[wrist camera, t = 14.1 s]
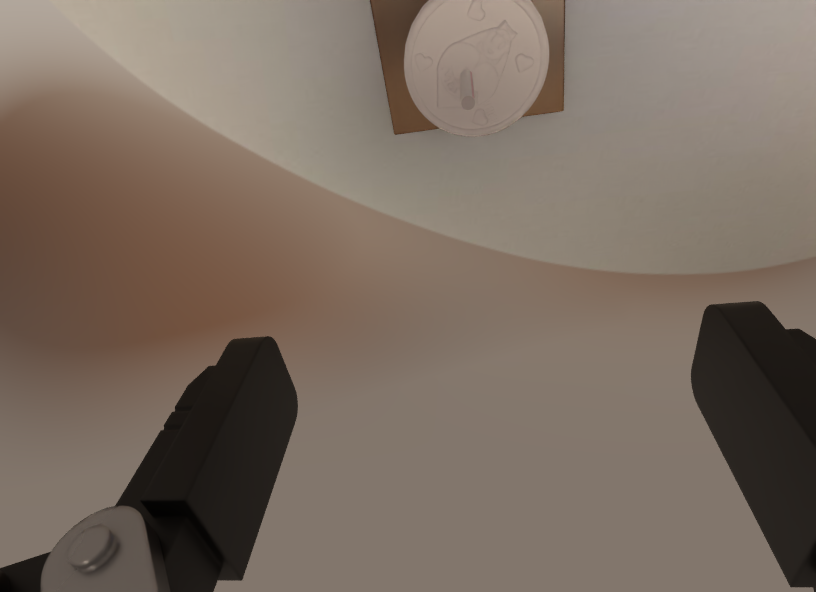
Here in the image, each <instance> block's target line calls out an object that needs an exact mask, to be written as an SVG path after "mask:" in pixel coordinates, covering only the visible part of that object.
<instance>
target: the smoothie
mask: <svg viewBox="0 0 816 592" xmlns="http://www.w3.org/2000/svg"><path fill="white" fill-rule="evenodd" d="M548 64H549V43H548V37H547V33H546V30H545V27H544V24H543V20H542V17H541V15H540V14H539V12H538V11H537V9H536V8H535V6H534V4H533V3H532V1H531V0H429V1H427V2H426V3H425V4H424V5H423V6H422V8H421V10H420V11H419V13H418V15H417V16H416V18H415V20H414V21H413V23H412V25H411V28H410V31H409V34H408V37H407V41H406V44H405V54H404V72H405V79H406V84H407V87H408V90H409V93H410V95H411V98H412V100H413V101H414V103H415V105H416V106H417V108H418V109H419V111H420V112H421V113H422V114H423V115H424V116H425V117H426V118H427V119H428V120H429V121H430V122H431V123H433V124H434V125H435V126H437V127H439V128H440V129H442V130H444V131H447V132H449V133H452V134H455V135H460V136H468V137H475V136H484V135H489V134H492V133H495V132H498V131H500V130H502V129H504V128H506V127H508V126H510V125H511V124H513V123H514V122H516V121H517V120H518V119H519V118H521V117H522V116H523V115H524V114H525V113H526V112H527V111H528V110H529V108H530V107H531V106H532V104H533V103H534V102H535V100H536V98H537V97H538V95H539V93H540V91H541V89H542V87H543V84H544V81H545V78H546V75H547V70H548Z"/></svg>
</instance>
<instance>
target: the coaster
mask: <svg viewBox="0 0 816 592" xmlns="http://www.w3.org/2000/svg"><path fill="white" fill-rule="evenodd" d="M427 1H429V0H370V3H371V8H372V14H373V19H374V25H375V30H376V36H377V41H378V47H379V52H380V58H381V63H382V69H383V74H384V80H385V85H386V91H387V96H388V102H389V107H390V113H391V119H392V124H393V130H394V134H395V135H397V134H404V133H411V132H418V131H425V130H432V129H439V127H437V126H435V125H434V124H433V123H431V122H430V121H429V120H428V119H427V118H426V117H425V116H424V115H423V114H422V113H421V112H420V111H419V109H418V108H417V106H416V105H415V103H414V101H413V100H412V98H411V95H410V93H409V90H408V87H407V84H406V79H405V72H404V54H405V44H406V41H407V37H408V34H409V31H410V28H411V25H412V23H413V21H414V20H415V18H416V16H417V15H418V13H419V11H420V10H421V8H422V6H423V5H424V4H425V3H426V2H427ZM531 1H532V3H533V4H534V6H535V8H536V9H537V11H538V12H539V14H540V15H541V17H542V20H543V24H544V27H545V30H546V33H547V37H548V43H549V64H548V70H547V75H546V78H545V81H544V84H543V87H542V89H541V91H540V93H539V95H538V97H537V98H536V100H535V102H534V103H533V104H532V106H531V107H530V108H529V110H528V111H527V112H526V113H525V114H524V115H523V116H522V117H524V116H531V115H538V114H545V113H552V112H560V111H563V110H564V39H565V0H531Z"/></svg>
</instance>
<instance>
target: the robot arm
mask: <svg viewBox="0 0 816 592" xmlns="http://www.w3.org/2000/svg"><path fill="white" fill-rule="evenodd" d="M691 383H692V389H693V393H694V397H695V400H696V402H697V404H698V407H699V408H700V410H701V413H702V414H703V416H704V418H705V420H706V422H707V424H708V426H709V428H710V430H711V432H712V434H713V436H714V438H715V440H716V442H717V444H718V446H719V448H720V450H721V452H722V454H723V456H724V458H725V460H726V461H727V463H728V465H729V467H730V469H731V471H732V473H733V475H734V477H735V479H736V481H737V483H738V485H739V487H740V489H741V491H742V493H743V495H744V497H745V499H746V501H747V503H748V504H749V506H750V508H751V510H752V512H753V514H754V516H755V518H756V520H757V522H758V524H759V526H760V528H761V530H762V532H763V534H764V536H765V538H766V540H767V542H768V544H769V546H770V548H771V550H772V552H773V554H774V556H775V557H776V559H777V561H778V563H779V565H780V567H781V569H782V571H783V573H784V575H785V577H786V579H787V581H788V583H789V585H790V587H813V588H814V592H816V339H815V338H813V337H812V336H810V335H808V334H807V333H805V332H803V331H802V330H800V329H785V328H784V327H783V326H782V324H781V323H780V322H779V321H778V320H777V318H776V317H775V316H774V315H773V314H772V312H771V311H770V310H769V309H768V308H767V307H766V306H765V305H764V304H763V303H761V302H759V301H753V302H740V303H726V304H713V305H709V306H708V307H707V308H706V309H705V311H704V314H703V319H702V323H701V327H700V332H699V337H698V341H697V346H696V351H695V355H694V360H693V364H692V369H691ZM297 402H298V401H297V394H296V390H295V387H294V385H293V382H292V380H291V377H290V375H289V373H288V370H287V368H286V365H285V363H284V360H283V358H282V356H281V353H280V350H279V348H278V345H277V343H276V341H275V340H274V339H273V338H272V337H269V336H267V337H254V338H241V339H233V340H231V341H230V342H229V344H228V345H227V347H226V349H225V351H224V352H223V354H222V356H221V357H220V359H219V361H218V363H217V365H216V366H208V367H207V369H205V370H204V371H203V372H202V373H201V374H200V375H199V376H198V377H197V378H196V379H194V380H193V381H192V382H191V383H190V384H189V385H188V386H187V388H186V390H185V391H184V393H183V395H182V396H181V398H180V400H179V401H178V403H177V405H176V406H175V412H172V413H171V415H170V416H169V418H168V419H167V421H166V423H165V424H164V430H162V431H160V433H159V435H158V436H157V438H156V439H155V441H154V443H153V444H152V446H151V448H150V449H149V451H148V453H147V454H146V456H145V458H144V459H143V461H142V463H141V464H140V466H139V468H138V469H137V471H136V473H135V474H134V476H133V478H132V479H131V481H130V483H129V484H128V486H127V488H126V489H125V491H124V492H123V494H122V496H121V498H120V499H119V501H118V502H117V504H116V505H115V506H114V507H109V508H106V509H103V510H100V511H98V512H96V513H94V514H91V515H90V516H88V517H87V518H85V519H83V520H82V521H80V522H79V523H78V524H77V525H75V526H74V527H73V528H71V530H69V531H68V532H67V533H66V534H65V535H64V536H63V537H62V538H61V539H60V540H59V542H58V543H57V544H56V546H55V547H54V548H53V550H52V551H51V552H49V553H46V554H43V555H40V556H37V557H34V558H30V559H27V560H24V561H21V562H18V563H15V564H12V565H9V566H6V567H3V568H0V592H213V591H214V588H215V586H216V583H217V580H242V579H243V576H244V573H245V570H246V567H247V564H248V561H249V558H250V555H251V552H252V549H253V546H254V543H255V540H256V537H257V534H258V532H259V528H260V525H261V523H262V519H263V516H264V514H265V511H266V508H267V505H268V502H269V499H270V496H271V493H272V489H273V487H274V483H275V481H276V478H277V475H278V472H279V469H280V466H281V463H282V460H283V457H284V454H285V451H286V448H287V445H288V442H289V439H290V436H291V433H292V430H293V427H294V424H295V421H296V417H297V410H298V403H297Z"/></svg>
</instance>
